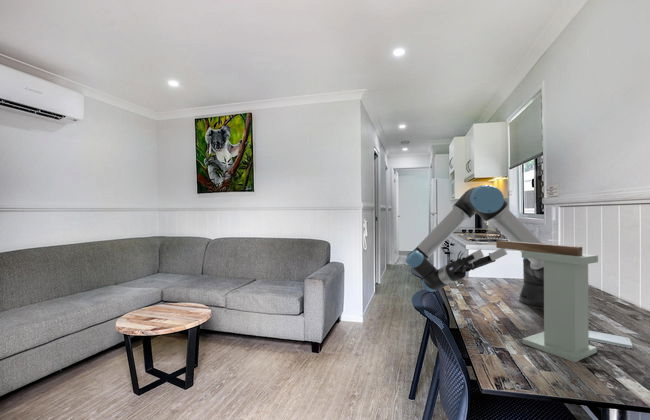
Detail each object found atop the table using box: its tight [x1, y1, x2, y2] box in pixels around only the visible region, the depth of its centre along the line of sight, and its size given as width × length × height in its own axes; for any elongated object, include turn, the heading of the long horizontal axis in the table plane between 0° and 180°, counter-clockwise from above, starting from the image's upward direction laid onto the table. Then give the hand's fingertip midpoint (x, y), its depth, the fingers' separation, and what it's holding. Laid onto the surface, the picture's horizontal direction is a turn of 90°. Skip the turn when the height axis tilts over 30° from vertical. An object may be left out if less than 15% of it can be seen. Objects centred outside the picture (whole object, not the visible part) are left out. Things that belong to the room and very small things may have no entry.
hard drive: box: [589, 330, 634, 350], centre depth 100 cm, size 2×8×12 cm
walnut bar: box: [495, 239, 583, 256], centre depth 99 cm, size 3×24×2 cm, turn 28°
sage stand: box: [521, 251, 599, 363], centre depth 94 cm, size 13×16×29 cm
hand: (493, 251), depth 112 cm, fingers open, 13 cm apart
